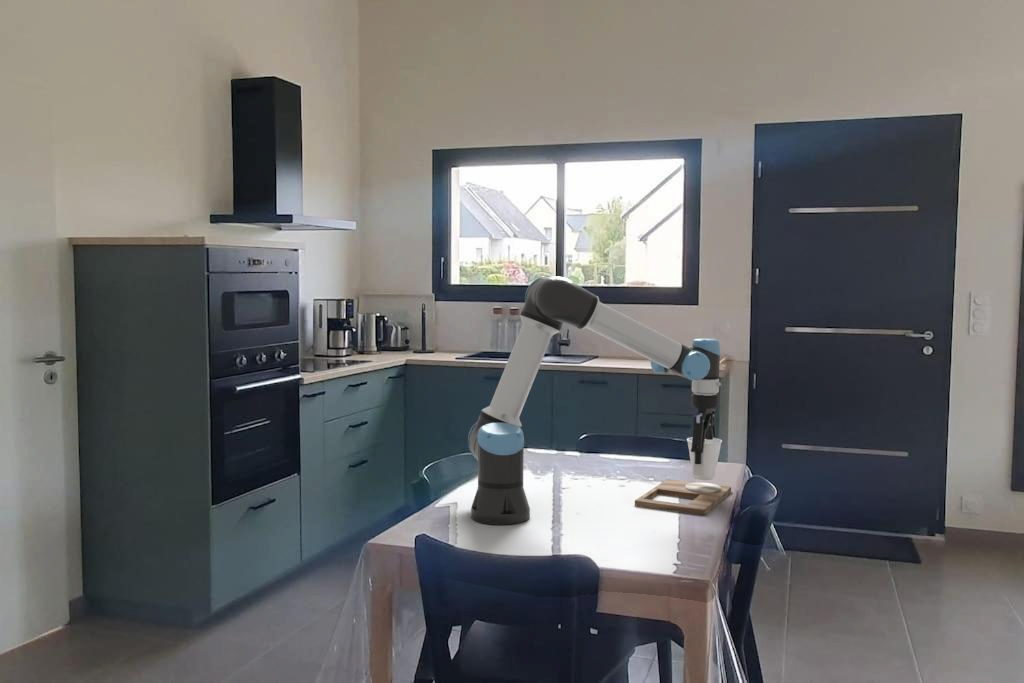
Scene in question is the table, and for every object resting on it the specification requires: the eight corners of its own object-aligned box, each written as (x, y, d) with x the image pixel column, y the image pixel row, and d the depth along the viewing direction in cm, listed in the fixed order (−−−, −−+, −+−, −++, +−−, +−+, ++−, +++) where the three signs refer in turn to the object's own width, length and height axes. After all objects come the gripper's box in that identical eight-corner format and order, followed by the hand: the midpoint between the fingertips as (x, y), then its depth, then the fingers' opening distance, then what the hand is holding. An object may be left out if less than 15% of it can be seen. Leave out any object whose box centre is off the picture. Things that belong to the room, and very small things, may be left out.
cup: (685, 481, 245) (686, 442, 245) (686, 473, 255) (686, 435, 254) (722, 482, 243) (723, 443, 243) (721, 474, 253) (721, 437, 252)
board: (704, 515, 227) (704, 507, 227) (634, 505, 236) (634, 498, 236) (731, 491, 252) (731, 485, 252) (667, 484, 261) (667, 477, 261)
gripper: (707, 399, 236) (706, 481, 238) (728, 389, 255) (726, 465, 257) (680, 397, 239) (679, 478, 241) (703, 388, 259) (701, 462, 261)
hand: (703, 471), depth 249 cm, fingers closed on cup, 9 cm apart
